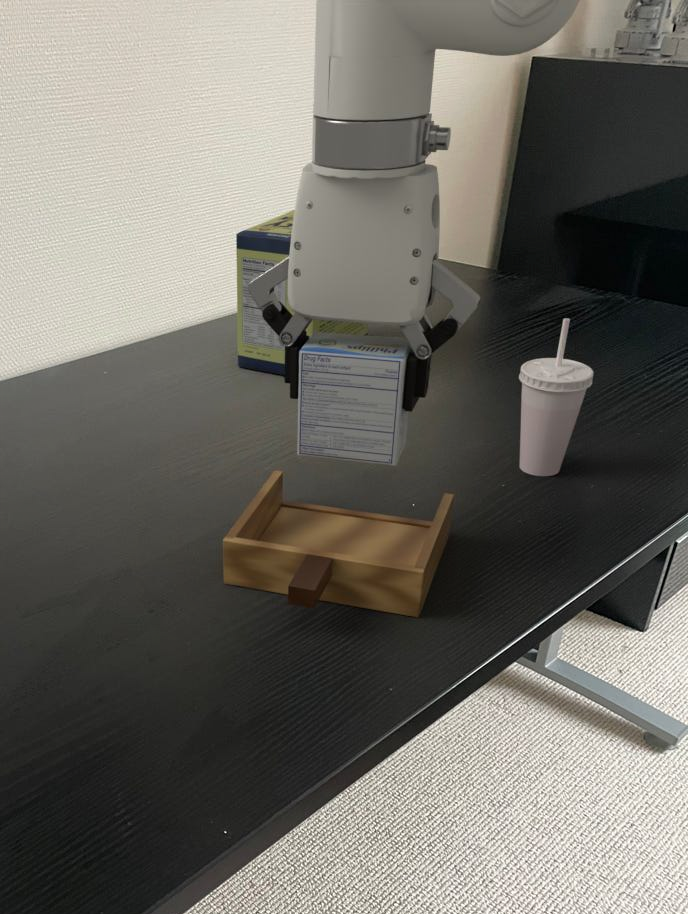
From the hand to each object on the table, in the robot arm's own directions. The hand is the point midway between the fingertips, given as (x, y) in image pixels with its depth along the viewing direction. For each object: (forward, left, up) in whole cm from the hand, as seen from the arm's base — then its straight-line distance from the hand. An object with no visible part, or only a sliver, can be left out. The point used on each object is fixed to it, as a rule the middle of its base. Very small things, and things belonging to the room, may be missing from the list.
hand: (354, 397), depth 75 cm
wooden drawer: (0, +4, -13) cm, 14 cm away
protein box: (+17, -45, -13) cm, 50 cm away
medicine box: (0, 0, -5) cm, 5 cm away
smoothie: (-14, -21, -13) cm, 28 cm away
